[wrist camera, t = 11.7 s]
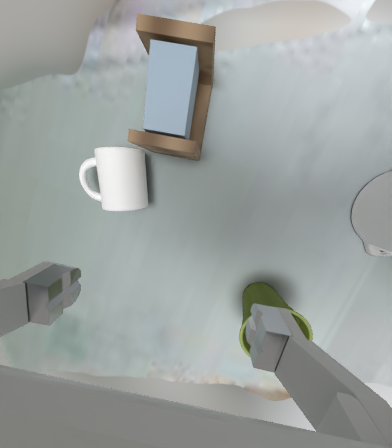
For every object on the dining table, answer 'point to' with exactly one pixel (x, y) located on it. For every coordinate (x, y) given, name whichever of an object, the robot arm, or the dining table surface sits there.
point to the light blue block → (171, 89)
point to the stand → (205, 46)
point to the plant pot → (268, 297)
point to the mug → (118, 178)
